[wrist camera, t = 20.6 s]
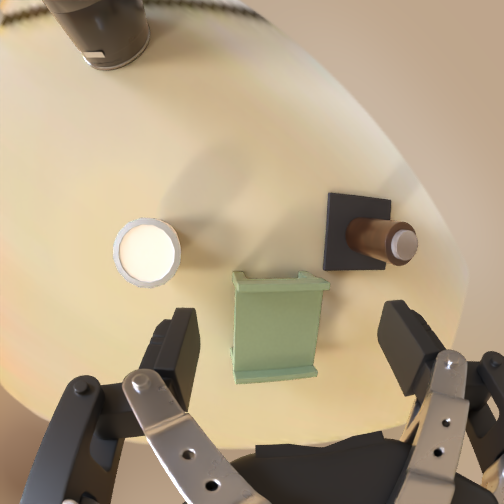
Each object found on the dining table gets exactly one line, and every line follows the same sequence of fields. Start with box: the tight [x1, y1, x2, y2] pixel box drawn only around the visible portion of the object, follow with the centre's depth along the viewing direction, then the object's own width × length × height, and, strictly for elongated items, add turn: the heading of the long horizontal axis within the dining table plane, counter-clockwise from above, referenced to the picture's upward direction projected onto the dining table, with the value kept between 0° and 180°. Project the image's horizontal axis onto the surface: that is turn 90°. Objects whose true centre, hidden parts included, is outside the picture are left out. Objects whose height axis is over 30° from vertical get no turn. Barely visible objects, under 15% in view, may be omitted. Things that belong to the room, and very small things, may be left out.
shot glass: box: [113, 218, 181, 288], centre depth 29 cm, size 7×7×7 cm
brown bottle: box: [345, 217, 418, 266], centre depth 32 cm, size 5×5×10 cm
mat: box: [323, 193, 391, 271], centre depth 37 cm, size 10×10×1 cm
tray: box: [230, 271, 330, 384], centre depth 34 cm, size 12×10×7 cm
